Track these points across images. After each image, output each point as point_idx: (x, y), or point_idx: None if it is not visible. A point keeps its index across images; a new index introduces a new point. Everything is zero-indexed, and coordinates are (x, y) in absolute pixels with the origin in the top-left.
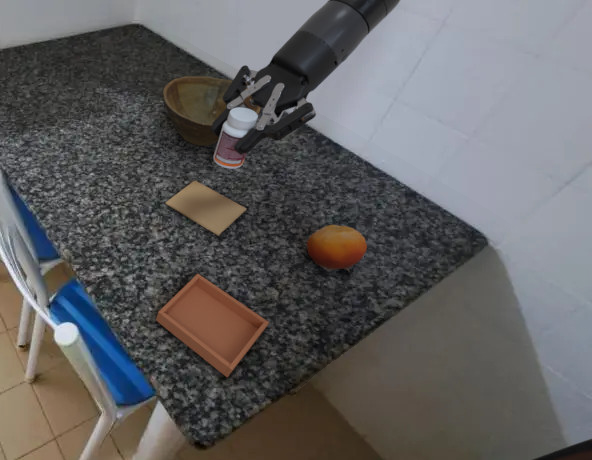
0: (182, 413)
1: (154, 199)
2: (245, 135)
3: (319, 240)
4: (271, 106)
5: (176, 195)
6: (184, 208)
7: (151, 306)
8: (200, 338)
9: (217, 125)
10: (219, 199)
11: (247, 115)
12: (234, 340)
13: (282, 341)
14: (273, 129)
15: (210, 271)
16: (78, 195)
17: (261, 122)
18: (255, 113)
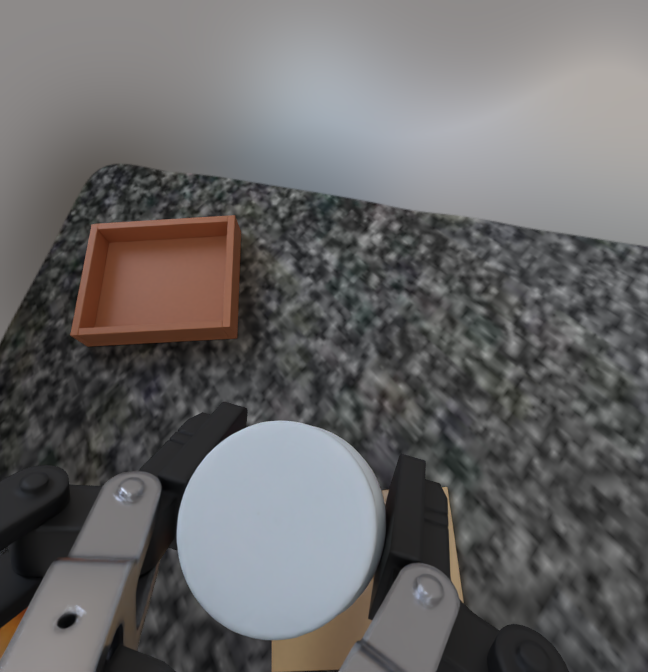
0: (134, 168)
1: (478, 478)
2: (210, 443)
3: (8, 623)
4: (52, 611)
5: (450, 539)
6: None
7: (263, 245)
8: (165, 253)
9: (401, 470)
10: (354, 638)
11: (246, 522)
12: (119, 290)
13: (53, 353)
14: (29, 477)
15: (228, 386)
16: (601, 333)
17: (130, 511)
18: (216, 603)
